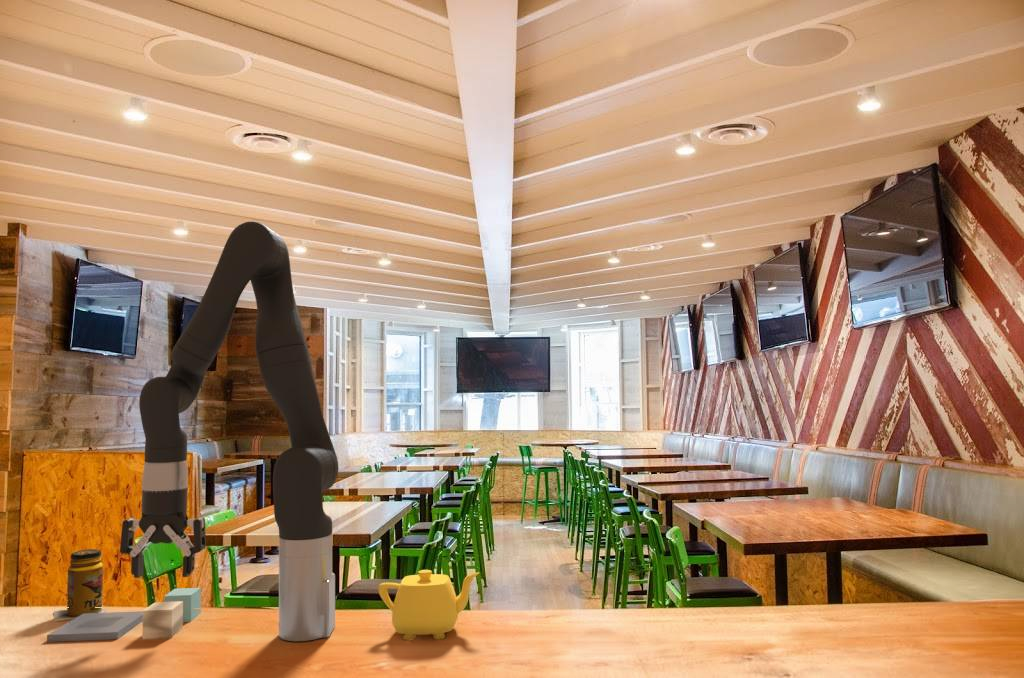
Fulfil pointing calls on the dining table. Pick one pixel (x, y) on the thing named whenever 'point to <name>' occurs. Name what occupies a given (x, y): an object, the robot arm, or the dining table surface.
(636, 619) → the dining table surface
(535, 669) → the dining table surface
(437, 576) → the teapot
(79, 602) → the condiment
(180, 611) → the block birch
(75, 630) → the plate
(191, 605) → the block teal
